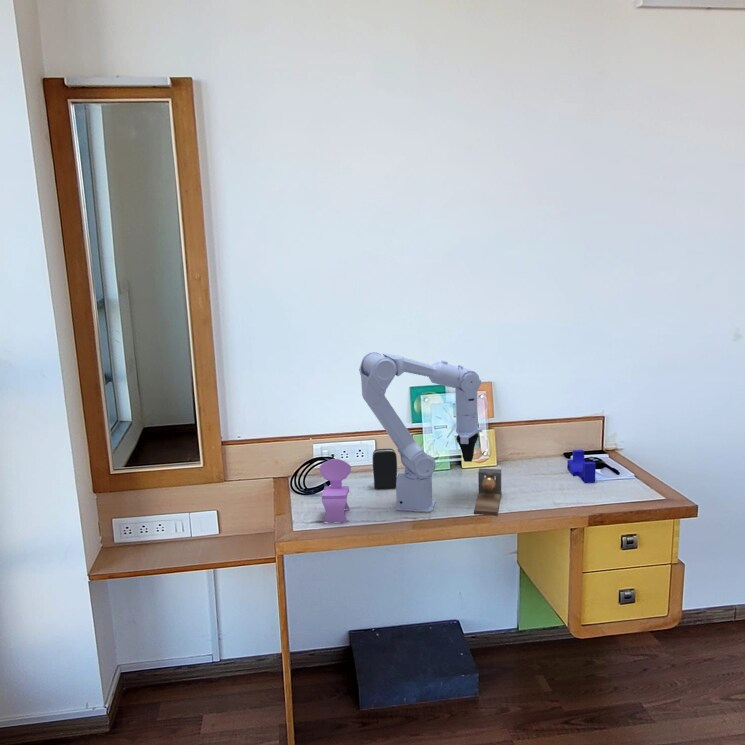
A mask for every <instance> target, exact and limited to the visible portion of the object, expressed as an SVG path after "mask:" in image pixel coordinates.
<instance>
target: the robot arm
mask: <svg viewBox="0 0 745 745" xmlns="http://www.w3.org/2000/svg"><path fill="white" fill-rule="evenodd" d="M403 373H408V374H412V375H418V376H423V377H426V378H427V377H428V378H429V381H430V382H431V383H433V384H435V385H440V386H444V387H448V388H452V389H455V391H454V392H455V419H456V421H455V422H456V428H455V432H456V433H457V434H456V435H457V436H456V438H455V439H456V443H457V444H458V445H459V448H460V451H461V455H462V460H463V462H468V463H472V461H473V459H474V452H475V448H476V447H475V446H476V443H477V441H478V438H479V435H480V434H479V433H483V427H479V424H478V423H479V422H478V420H479V419H478V418H479V413H478V410H479V409H478V391H479V389H480V387H481V385H482V380H481V379H480V376H479V374H478V373H477V372H476V371H474V370H471V369H469V368H467V367H464V366H463V365H457V366H456V365H452V364H449V362H448V361H446V360H441V361H435V362H434V363H432V364H429V363H424V362H421V361H418V360H415V359H412V358H407V357H404V356H400V355H395V354H390V353H389V354H388V353H382V354H381V353H379V352H375V351H371V352H369V353H367V354H365V356H364V357H363V358H362V360H361V363H360V366H359V374H360V379H361V395H362V398H363V400H364V401H365V403H366V405H367V406H368V407H369V409H370V410H371V412H372V413H373V415H374V417H375V418H376V419H377V420H378V422H379V423H380V424H381V426H382V427H383V429H384V430H385V432H386V433H387V435H388V436H389V438H390V439H391V440H392V442H393V443H394V445H395V446H396V448H397V452H398V453H399V456H400V462H401V464H402V465H403V467H404V468H405V469H404V472H403V473H402V472H401V473H397V480H396V488H395V493H396V494H395V495H396V508H395V510H396V511H406V512H407V511H408V512H410V511H411V512H421V513H423V512H425V513H426V512H427V513H432V511H433V509H434V507H435V504H436V502H437V500H436V499H435V498H433V474H434V472H435V470H436V467H437V466H436V461H435V459H434V458H433V457H432V456H431V455H429V454H428V453H426V452H425V451H424V449H423V448H422V447H421V446H420V444H418V443H417V441H416V440H415V439H414V437H413V436H412V435H411V433H410V431H409V429H408V428H407V426H406V425H405V424H404V422H403V421H402V419H401V417H400V416H399V415H398V414H397V412H396V410H395V408H393V406H392V404H391V403H390V401H389V400H388V399H387V397H386V392H387V389H388V387H389V386H390V384H391V383H392V381H393V380H394V378H395V377H400V376H401V375H403Z"/></svg>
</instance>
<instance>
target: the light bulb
mask: <svg viewBox="0 0 745 745" xmlns="http://www.w3.org/2000/svg"><path fill="white" fill-rule="evenodd" d="M495 486H496V481H495V476H485V478H484V479H483V482H482V488H483V489H484V490H485V491H487V492H491V491H493V490H494V489H495Z"/></svg>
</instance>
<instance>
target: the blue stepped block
mask: <svg viewBox="0 0 745 745" xmlns="http://www.w3.org/2000/svg"><path fill="white" fill-rule="evenodd" d="M571 458H572V459H567V463H566V465H567V466H566V467H567V470H568V472H569V473H570V474H571V476H572V477H578V478H579V479H580V480H581V481H582V482H583V483H584V484H596V462H595V461H586V460H585V451H584V449H575V450H574V449H573V450H572V457H571Z"/></svg>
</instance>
